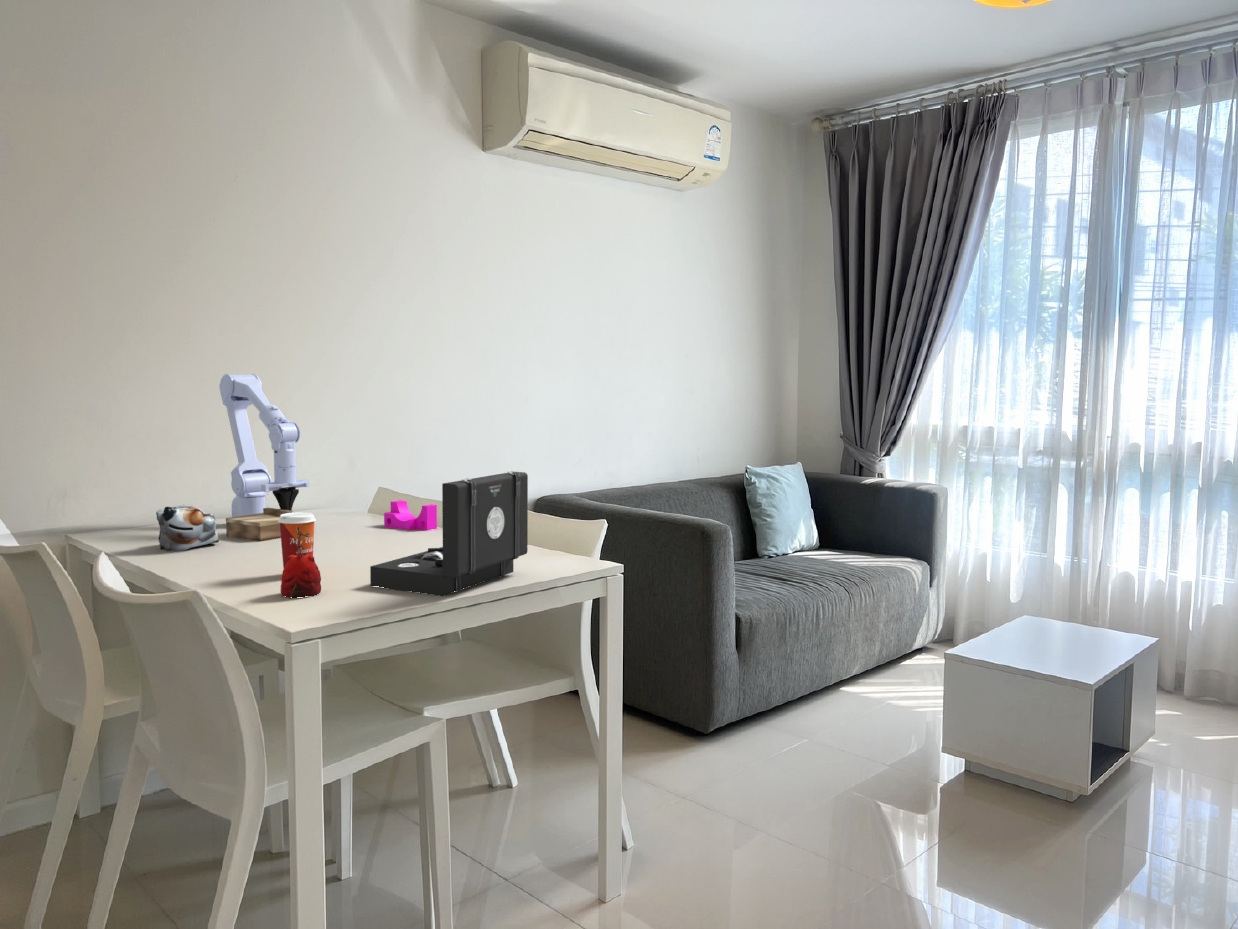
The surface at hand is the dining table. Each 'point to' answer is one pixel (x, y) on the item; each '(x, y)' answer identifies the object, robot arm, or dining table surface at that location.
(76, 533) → the dining table surface
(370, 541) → the dining table surface
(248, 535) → the walnut box
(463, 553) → the watch box
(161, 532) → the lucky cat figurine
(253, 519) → the lid
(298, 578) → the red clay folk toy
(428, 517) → the toy block
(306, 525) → the paper cup
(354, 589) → the dining table surface
